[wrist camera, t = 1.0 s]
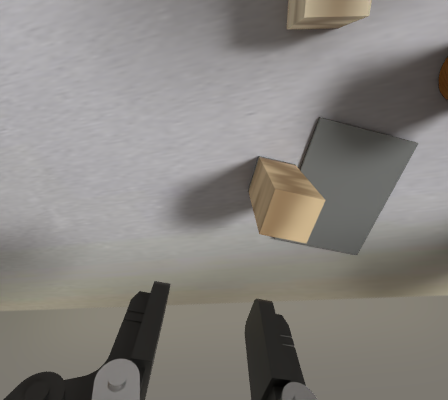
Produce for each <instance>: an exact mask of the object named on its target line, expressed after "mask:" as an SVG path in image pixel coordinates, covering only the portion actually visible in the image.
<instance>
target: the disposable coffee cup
mask: <svg viewBox="0 0 448 400" xmlns="http://www.w3.org/2000/svg"><path fill="white" fill-rule="evenodd" d="M439 89H440V92H441V94H442V96H443V97H444V98H445V99H446V100H448V57H447V58H446V60H445V62H444V63H443V65H442V68H441V71H440V74H439Z"/></svg>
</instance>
